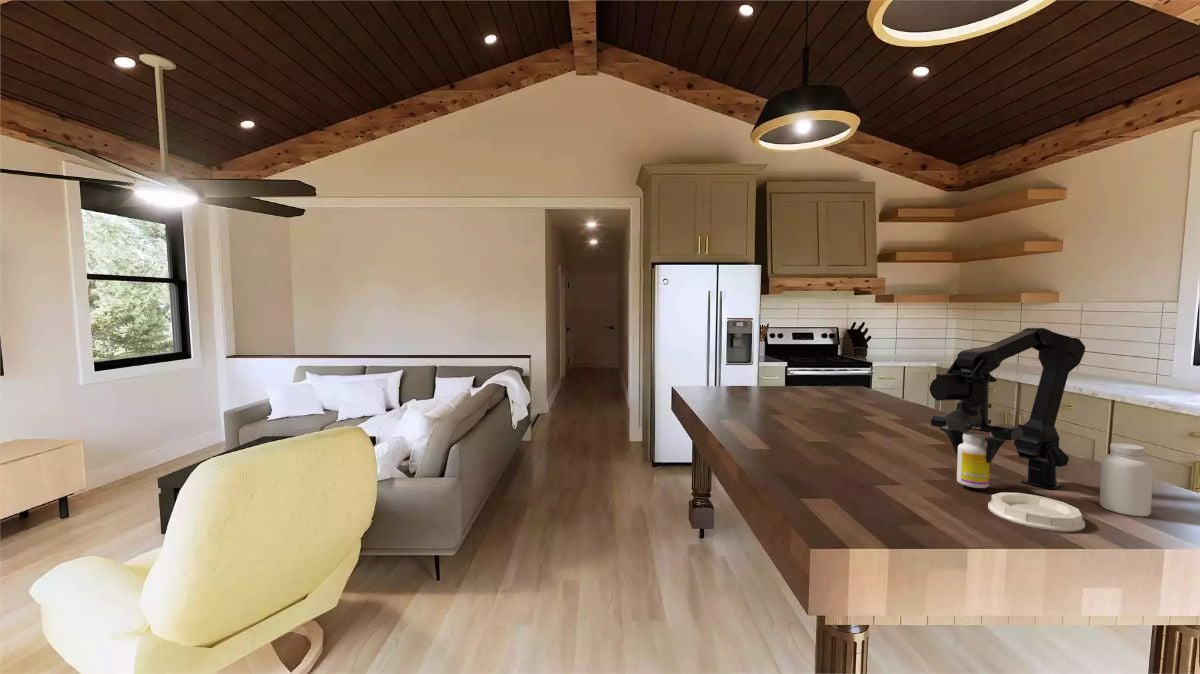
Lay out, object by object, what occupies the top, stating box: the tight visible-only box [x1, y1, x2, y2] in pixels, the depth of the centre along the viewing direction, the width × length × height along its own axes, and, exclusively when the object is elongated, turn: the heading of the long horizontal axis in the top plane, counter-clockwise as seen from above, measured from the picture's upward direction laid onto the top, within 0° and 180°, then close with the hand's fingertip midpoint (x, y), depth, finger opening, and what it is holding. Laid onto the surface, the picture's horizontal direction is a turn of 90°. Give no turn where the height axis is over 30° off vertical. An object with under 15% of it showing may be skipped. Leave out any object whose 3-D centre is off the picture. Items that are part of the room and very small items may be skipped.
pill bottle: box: [1099, 442, 1154, 517], centre depth 109 cm, size 8×8×15 cm
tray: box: [987, 491, 1086, 533], centre depth 107 cm, size 16×16×3 cm
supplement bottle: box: [956, 432, 990, 489], centre depth 124 cm, size 7×7×13 cm
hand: (973, 459), depth 124 cm, fingers closed on supplement bottle, 7 cm apart
